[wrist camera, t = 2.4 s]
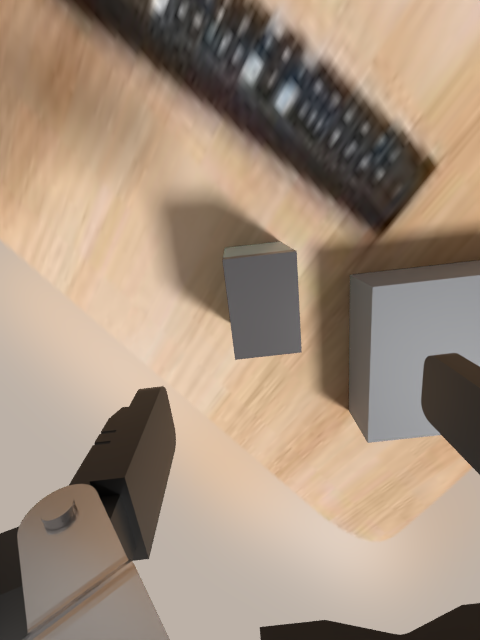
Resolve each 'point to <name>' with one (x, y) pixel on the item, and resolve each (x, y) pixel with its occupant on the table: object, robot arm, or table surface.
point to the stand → (407, 341)
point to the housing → (263, 299)
